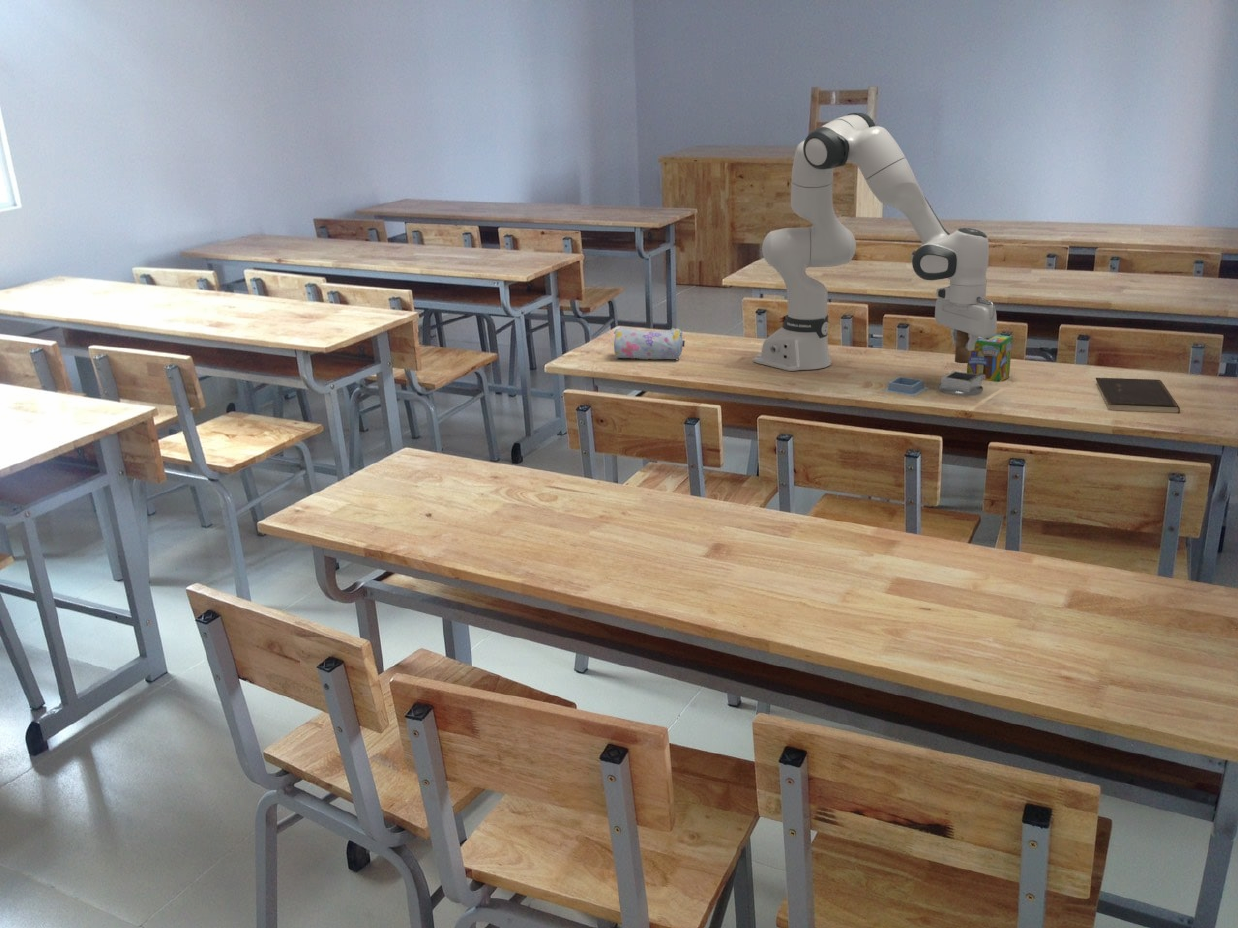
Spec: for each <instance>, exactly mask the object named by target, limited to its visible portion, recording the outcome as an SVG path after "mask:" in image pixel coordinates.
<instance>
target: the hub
mask: <svg viewBox="0 0 1238 928" xmlns="http://www.w3.org/2000/svg"><path fill="white" fill-rule="evenodd" d="M981 378H982V375H979V374H972V373H967V372H965V371H964V372H963V371H957V370H952V371H951V372H949V373H947V374H946V375H944V376H942V377H941V381H940V384H939V385H938V390H939V392H941V393H943V394H947V395H951V396H958V397H959V396H962V397H965V396H966V397H968V396H970V397H971V396H976V395H979V394H982V393H983V392H984V386H982V379H981Z"/></svg>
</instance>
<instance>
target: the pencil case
mask: <svg viewBox="0 0 1238 928" xmlns="http://www.w3.org/2000/svg"><path fill="white" fill-rule="evenodd" d="M613 334H614V341H613V349H614V354H615V356H616V359H618V358H631V359H635V358H637V359H636V360H648V359H679V356H680V355H681V356H682V354H683V353H682V352H683V348H684V347H685V341H686V340H683V337H682V336H683V331H681V329H680V328H675V327H671V329H669V330H657V331H656V330H655V331H651V330H650V331H647V330H640V329H639V330H638V329H632V328H627V327H623V326H621V327H618V328H615V331H614V332H613ZM681 356H680V357H681ZM638 358H639V359H638ZM679 360H680V359H679Z"/></svg>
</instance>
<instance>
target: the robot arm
mask: <svg viewBox="0 0 1238 928" xmlns="http://www.w3.org/2000/svg"><path fill="white" fill-rule="evenodd" d="M875 123H876V122H874V120H873V118H872V117H871V116H869V115H868V114H866V113H864V112H863V113H862V112H853V113H851V112H850V113H848V114H846V115H843V116H841V117H837V118H834V119H832V120H830V121H828V122H827V123H825V124H824V125H822V126H820V127H816V128H815V129H814V130H812V131H811V132H810V133H809V134H807V136H806V138H805V139H804V140H803V141H801V142H799V143H798V144H797V146H796V149H795V152H794V158H793V163H792V170H791V185H790V207H791V210H792V212H794V214H795V215H796V216H798V217H799V218H802V219H804V220H805V221H806V220H807V221H808V222H810V223H811V224H812V226H809V227H785V228H778V229H776V230H771V231H769V232H768V233H767V234H766V235H765V237H764V239H763V241H762V245H761V247H762V248H761V251H762V256H763V259H764V260H765V262H766V264H768V265H769V266H770V267H772V268H773V269H775V270H776V272H777V273H778V274H779V275H780V277H781V278H782V280H783V282H784V284H785V289H786V294H787V314H785V315H784V316H783V317H781V318H779V322H778V323H782V325H781V327H780V328H779V329H777V330H776V331H775V332H773V333H772V334H771V335H769V336H768V337H767V338H765V340H764V341H763V343H762V346H761V347H762V348H761V353H758V354H756V355H755V356H753V357H754V358H753V362H754V363H757V364H761V365H765V366H768V367H772V368H776V369H780V370H784V371H789V372H795V371H804V370H805V371H809V370H818V369H823V368H827V367H829V366H831V365H832V361H831V358H830V352H829V345H828V344H829V343H828V334H829V315H828V295H829V294H828V293H829V291H828V289H827V287H826V285H825V284H824V283H822V282H821V281H820V280H817V279H815V278H814V277H811V276H809V275H808V274H807V273H806V269H809V268H832V267H833V268H834V267H838V266H841V265H847V264H849V263H850V262H851V261H852V259H854V257H855V254H856V250H857V241H856V238H855V235H854V234H853V232H852V231H851V230H850V229H849V228H847V227H846V226H844V225H843V224H842V223H841V222H840V220H839V219H838V217H837V215H836V213H835V209H834V204H833V203H834V202H833V192H834V191H833V189H834V188H833V185H834V169H835V168H838V167H839V168H840V167H843V166H845V165H846V164H847V163H852V164H854V165H856V166H857V167H858V168H859V171H860V172H861V174H862V177H863V178H864V180H865V182H866V184H867V186H868V188H869V189H870V191H871V192H872V194H873V195H874V196H875V197H876V199H877V200H878V201H879V202H880V203H881V204H883V205H886V206H889V207H892V208H894V209H896V210H898V211H899V212H901V213H902V214H903V215H904V216H905V217H906V218H907V220H908V221H909V223H910V224H911V226H912V229H914V231H915V232H916V233H915V234H916V235H917V236H918V238H919V239H920V241H921V243H922V245H921V246H920V247H919V248H918V249H917V250H916V251H915V252H914V253H913V256H912V259H911V260H912V261H911V265H912V269H913V271H914V273H915V274H916V275H917V277H919V278H920V279H923V280H925V281H937V280H944V279H949V286H946V287H941V288H937V289H936V293H935V294H936V297H937V299H936V301H935V308H934V321H935V322H936V324H937V325H940V326H944V327H947V328H950V329H949V331H950V332H949V333H950V335H951V338H952V346H955V347H956V336H957V330H959V331H962V332H966V333H969V336H968V337H969V338H970V339H969V341H968V343H965V346H966V347H965V349H966V350H969V351H972V350H974V348H975V343H976V341H977V340H978V338H979V337H982V338H989V337H994V336H995V334H997V329H998V323H997V321H998V320H997V317H998V316H997V311H996V306H995V305H994V303H993V302H992V300H990V299H986V293H987V285H988V284H987V282H988V281H987V277H986V276H987V274H986V273H987V270H988V267H989V260H990V259H989V257H990V254H989V253H990V248H989V247H990V245H989V238H988V236H987V234H986V233H985V232H984V231H981V230H979V229H974V228H969V227H962V228H958V229H956V230H955V231H954V232H952V233H949V231H947V230H946V229H945V227H944V226H943V225H942V223H941V221H940V220H939V218H938V216H937V215H936V213H935V211H934V210H933V208H932V206H931V204H930V203H929V201H928V199H927V198H926V197H925V195H924V192H923V191H922V189H921V187H920V184H919V182H918V181H917V178H916V176H915V174H914V172H913V169H912V168H911V166H910V165H911V164H910V163H909V161H908V159H907V157H906V156H905V154H904V152H903V150H902V149H901V147H900V145H899V144H898V142H897V141H896V139H895V138H894V137H893V136H892V134H890V133H889V131H888V130H887V129H886V128H885V127H883V126H878V125H877V126H876V124H875Z"/></svg>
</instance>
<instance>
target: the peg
mask: <svg viewBox="0 0 1238 928" xmlns="http://www.w3.org/2000/svg"><path fill="white" fill-rule="evenodd" d="M968 336H969V333H966V332H962V331H959V330H957V336H956V346H955V353H954V362H955V364H956V363H957V364H967V363H969V361H970V351H969V350H966V349H965V347H966V346H965V343H968V341H969V339H970V338H969V337H968Z"/></svg>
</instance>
